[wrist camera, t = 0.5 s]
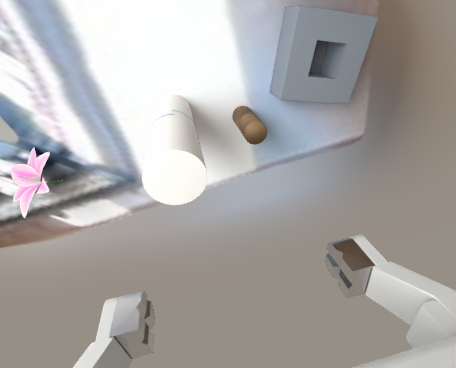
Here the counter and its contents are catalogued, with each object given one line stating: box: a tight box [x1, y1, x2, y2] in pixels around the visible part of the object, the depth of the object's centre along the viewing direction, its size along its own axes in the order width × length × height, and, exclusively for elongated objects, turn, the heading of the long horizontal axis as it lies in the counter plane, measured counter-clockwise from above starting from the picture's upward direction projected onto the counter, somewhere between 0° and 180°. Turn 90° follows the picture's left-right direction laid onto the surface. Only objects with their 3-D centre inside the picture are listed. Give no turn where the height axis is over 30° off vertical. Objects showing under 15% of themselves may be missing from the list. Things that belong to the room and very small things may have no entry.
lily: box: [10, 147, 64, 218], centre depth 47 cm, size 12×12×10 cm
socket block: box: [270, 5, 378, 104], centre depth 46 cm, size 14×14×6 cm
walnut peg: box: [233, 106, 267, 144], centre depth 48 cm, size 4×4×10 cm
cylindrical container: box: [142, 94, 207, 205], centre depth 39 cm, size 7×7×25 cm
